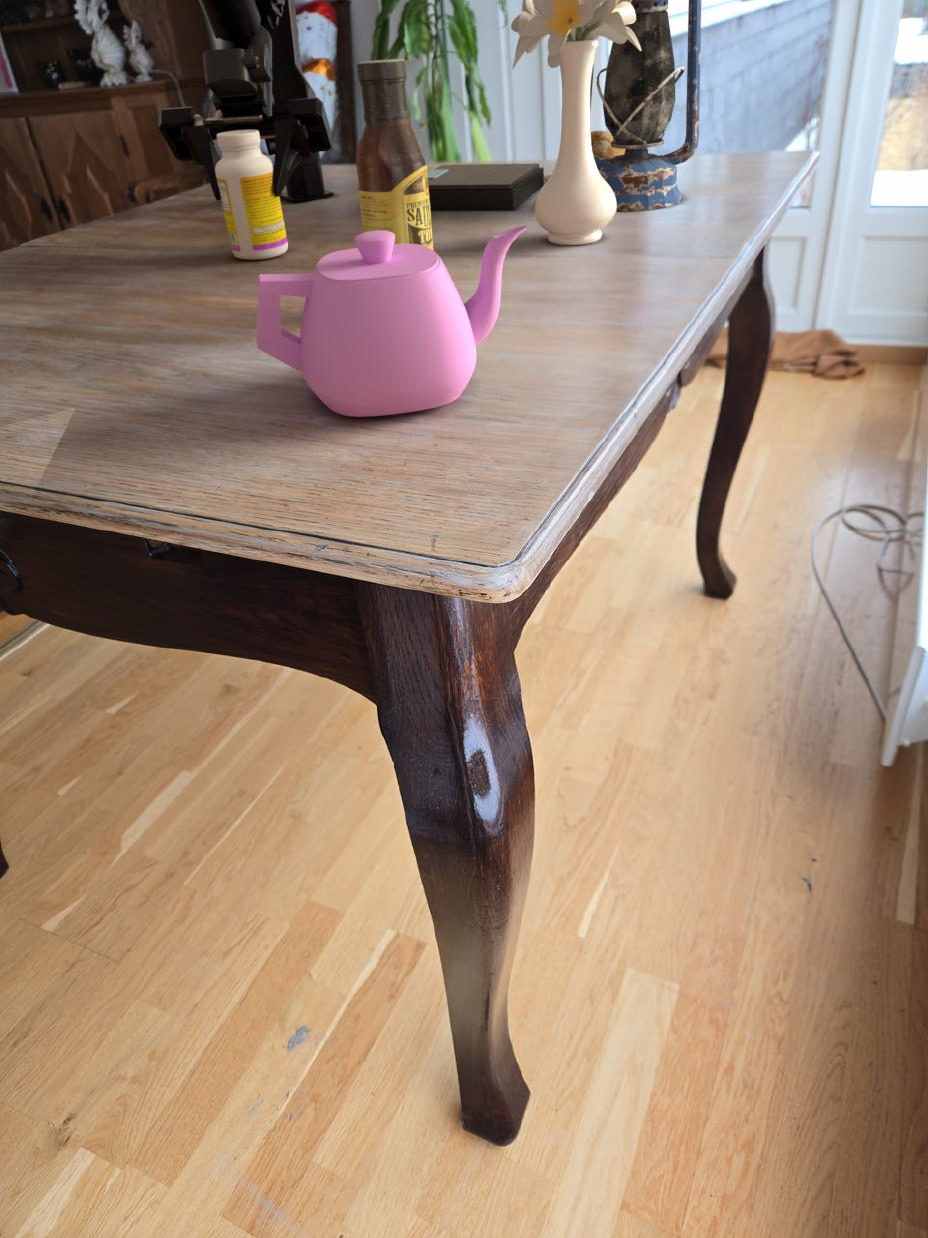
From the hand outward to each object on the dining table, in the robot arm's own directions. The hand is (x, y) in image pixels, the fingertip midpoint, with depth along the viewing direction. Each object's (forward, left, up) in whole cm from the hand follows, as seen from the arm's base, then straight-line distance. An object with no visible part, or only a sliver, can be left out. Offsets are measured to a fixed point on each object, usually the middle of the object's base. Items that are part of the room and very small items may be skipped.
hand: (246, 196), depth 98 cm
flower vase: (+20, +31, -7) cm, 37 cm away
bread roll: (-6, +55, -7) cm, 56 cm away
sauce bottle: (+30, +4, -7) cm, 31 cm away
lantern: (+10, +49, -7) cm, 50 cm away
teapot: (+48, -6, -7) cm, 49 cm away
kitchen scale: (-9, +36, -7) cm, 37 cm away
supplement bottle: (-1, +1, -7) cm, 7 cm away
